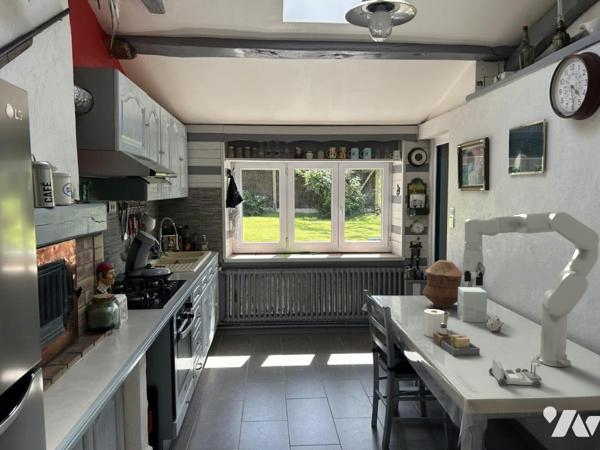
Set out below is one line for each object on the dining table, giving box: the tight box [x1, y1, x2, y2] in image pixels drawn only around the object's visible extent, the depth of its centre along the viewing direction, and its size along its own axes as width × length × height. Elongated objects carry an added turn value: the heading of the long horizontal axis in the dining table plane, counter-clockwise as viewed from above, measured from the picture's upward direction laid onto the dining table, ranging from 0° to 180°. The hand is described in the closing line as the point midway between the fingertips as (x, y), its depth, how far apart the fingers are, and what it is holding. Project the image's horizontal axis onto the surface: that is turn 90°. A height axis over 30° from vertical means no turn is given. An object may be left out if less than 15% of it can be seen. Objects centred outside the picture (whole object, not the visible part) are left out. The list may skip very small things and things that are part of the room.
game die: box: [484, 315, 504, 333], centre depth 233 cm, size 9×8×10 cm
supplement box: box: [456, 286, 488, 323], centre depth 256 cm, size 13×13×18 cm
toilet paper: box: [423, 308, 444, 338], centre depth 227 cm, size 10×10×12 cm
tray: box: [440, 340, 481, 357], centre depth 203 cm, size 12×12×3 cm
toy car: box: [488, 355, 542, 389], centre depth 171 cm, size 18×10×12 cm
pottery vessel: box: [422, 259, 464, 309], centre depth 284 cm, size 26×26×30 cm
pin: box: [440, 322, 448, 336], centre depth 213 cm, size 3×3×10 cm
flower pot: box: [443, 310, 451, 324], centre depth 237 cm, size 9×9×9 cm
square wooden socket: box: [432, 332, 452, 347], centre depth 213 cm, size 7×7×4 cm
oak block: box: [450, 334, 471, 349], centre depth 203 cm, size 6×6×6 cm
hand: (473, 283), depth 201 cm, fingers open, 9 cm apart
